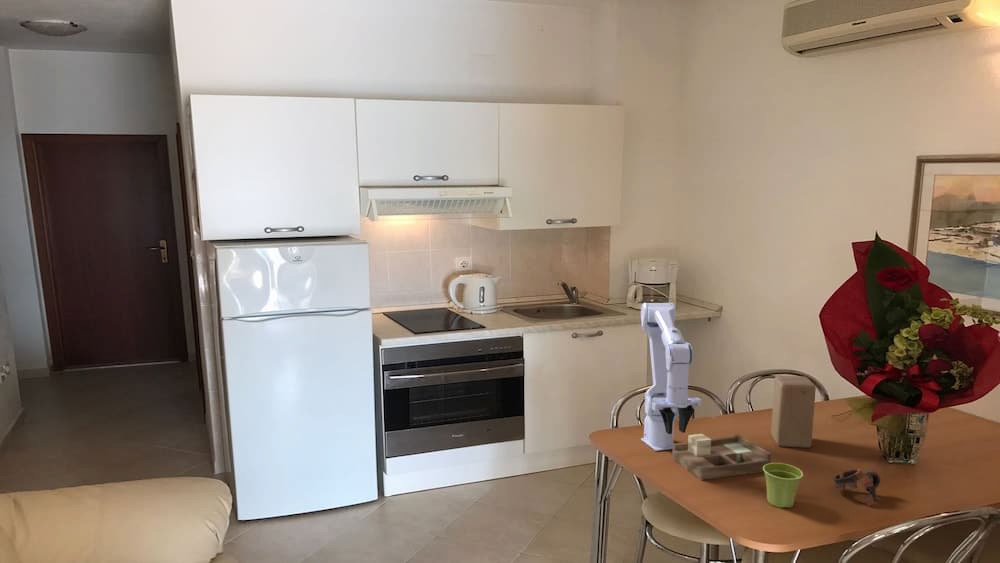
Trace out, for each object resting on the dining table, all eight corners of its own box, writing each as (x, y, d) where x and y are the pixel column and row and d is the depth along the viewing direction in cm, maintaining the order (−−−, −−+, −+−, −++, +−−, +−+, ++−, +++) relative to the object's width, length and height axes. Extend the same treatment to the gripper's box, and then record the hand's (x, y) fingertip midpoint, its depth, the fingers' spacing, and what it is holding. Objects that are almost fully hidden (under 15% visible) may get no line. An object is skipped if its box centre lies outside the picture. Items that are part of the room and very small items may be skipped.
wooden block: (812, 449, 209) (816, 385, 206) (777, 447, 211) (781, 383, 208) (803, 436, 219) (807, 375, 216) (769, 435, 220) (774, 374, 217)
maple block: (687, 450, 200) (688, 435, 200) (701, 448, 202) (702, 433, 201) (696, 456, 196) (697, 441, 196) (710, 454, 198) (711, 439, 197)
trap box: (672, 458, 202) (672, 442, 201) (737, 450, 208) (738, 434, 207) (701, 480, 188) (702, 462, 187) (769, 470, 194) (771, 453, 193)
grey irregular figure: (863, 511, 172) (847, 480, 173) (836, 511, 180) (821, 481, 182) (896, 491, 176) (880, 460, 177) (869, 492, 184) (854, 463, 186)
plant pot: (806, 502, 175) (808, 469, 174) (792, 515, 168) (795, 482, 167) (769, 491, 182) (771, 459, 180) (755, 503, 175) (757, 471, 173)
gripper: (661, 392, 188) (659, 440, 190) (708, 387, 192) (705, 434, 194) (648, 384, 194) (647, 431, 196) (694, 380, 199) (691, 425, 201)
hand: (675, 432), depth 196 cm, fingers open, 4 cm apart
